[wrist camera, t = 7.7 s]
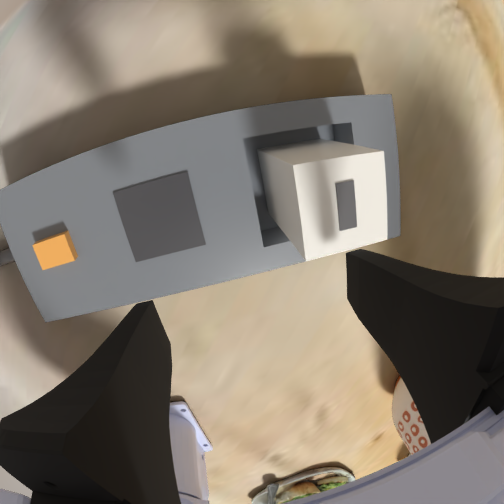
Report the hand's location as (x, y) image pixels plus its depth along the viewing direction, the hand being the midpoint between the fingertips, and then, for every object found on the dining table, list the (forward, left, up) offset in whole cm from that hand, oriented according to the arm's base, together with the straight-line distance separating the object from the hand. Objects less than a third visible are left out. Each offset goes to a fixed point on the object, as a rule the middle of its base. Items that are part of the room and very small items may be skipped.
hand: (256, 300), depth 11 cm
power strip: (+2, +4, -9) cm, 10 cm away
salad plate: (-48, -1, -10) cm, 49 cm away
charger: (+2, -4, -9) cm, 10 cm away
